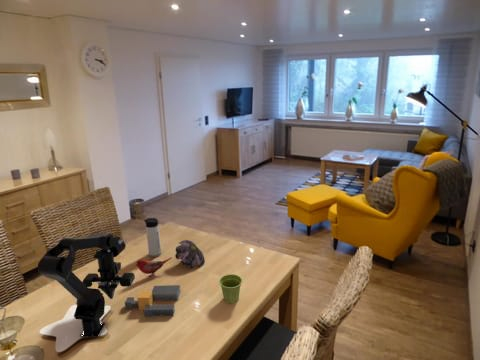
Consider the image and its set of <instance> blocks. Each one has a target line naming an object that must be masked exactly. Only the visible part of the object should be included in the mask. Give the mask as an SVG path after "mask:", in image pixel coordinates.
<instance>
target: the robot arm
mask: <svg viewBox="0 0 480 360" xmlns="http://www.w3.org/2000/svg"><path fill="white" fill-rule="evenodd" d="M126 245H127V244H126V242H125V241H124V240H123V239H121V236H118V235H116V236H114V235H113V233H107V232H106V233H104V232H95V233H91V234H90V235H89V236H84V237H83V236H82V237H71V238H70V237H64V238H62V239H61V240H59V242H58V243H57V244H56V245H54V246H53V247H52V248H50V249H49V250H47V251H46V253H45V254H44V255H43V256H42V257H41V259H40V260H39V261H38V264H37V272H38V273H39V275H42V276H43V277H45V278H48V279H51V280H54V281H57V283H59V284H60V286H62V287H63V288H64V289H65V290H66V291H67V292H68V293H69V294H71V295H72V296H73V297H74V298H75V299H76V301H75V302H76V303H75V304H76V308H75V311H74V314H73V317H74V319H75V320H81V324H82V331H84V335H83V334H82V335H83V336H86V337H85V338H92V337H93V338H97V337H99V336H100V334H101V332H102V330H103V329H102V328H104V327H105V322H101V318H102V317H103V315H104V314H105V307H106V305H105V304H106V302H105V301H106V300H105V296H104V294H105V295H106V296H107V297H108V298H109V299H110V300H113V298H114V297H115V296H114V295H115V291H116V289H117V288H118V286H120V287H123V288H124V287H132V285H133V282H134V281H135V279H136V277H135V273H133V272H124V273H122V275H119V271H122V262H119V261H115V258H116V257H118V256H119V255H120V254H121V253H122V252H124V250H125V249H126V247H127V246H126ZM93 248H94V249H100V250H97V251H96V252H95V253H94V255H93V259H95V260H96V259H97V263H98V264H97V265H98V269H97V273H93V272H92V273H87V274H86V275H85V277H84V278H83V279H82V280H80V278H79V277H78V276H77V275H76V274H75V272H73V265H74V263H75V262H76V253H77V252H78V250H86V249H93ZM65 251H68V254H67V256H60V255H61V254H63V253H64V252H65ZM98 273H99V274H98ZM93 283H97V288H93V287H92V286H93ZM91 287H92V288H91ZM101 291H102V292H103V293H102V292H101ZM100 323H101V324H102V325H101V324H100ZM103 326H104V327H103ZM100 331H101V332H100ZM99 333H100V334H99ZM98 335H99V336H98ZM87 336H88V337H87Z"/></svg>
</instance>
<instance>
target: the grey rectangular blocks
mask: <svg viewBox="0 0 480 360" xmlns="http://www.w3.org/2000/svg"><path fill="white" fill-rule="evenodd" d="M151 291H152V298H153V302H155V301H179V298H180V294H181V285H179V284H178V285H177V284H176V285H175V284H174V285H172V284H171V285H170V284H169V285H168V284H167V285H154V286H153V288H152V290H151ZM175 311H176V310H175V304H174V303H172V304H169V303H167V304H166V303H165V304H152V305H146V306H145V309H144V310H143V313H144V314H143V315H144V317H173V316H174V315H175Z"/></svg>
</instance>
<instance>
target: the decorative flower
mask: <svg viewBox="0 0 480 360" xmlns="http://www.w3.org/2000/svg"><path fill="white" fill-rule="evenodd" d="M178 244H179V245H177V246H176V247H175V255H174V257H175V259H177V260H180V264H182V265H183V266H187V267H189V269H193V268H194V267H195V266H196V264H197V265H198V267H199V268H201V267H202V266H203V265H204V263H205V256H204V253H203V251H201V250H200V249H199V248H198V246H197V245H196V244H195V242H193V241H191V240H187V239H185V240H181V241H180V242H178Z"/></svg>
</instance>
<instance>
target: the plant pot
mask: <svg viewBox="0 0 480 360" xmlns="http://www.w3.org/2000/svg"><path fill="white" fill-rule="evenodd" d="M218 284H219V285H220V287H221V292H222V296H223V301H224V302H225V303H227V304H233V303H237V302H238V301H239V299H240V291H241V286H242V284H243V278H242V277H241V276H240V275H238V274H235V273H232V274H231V273H229V274H224V275H223V276H221V277H220V278H219V280H218Z"/></svg>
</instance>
